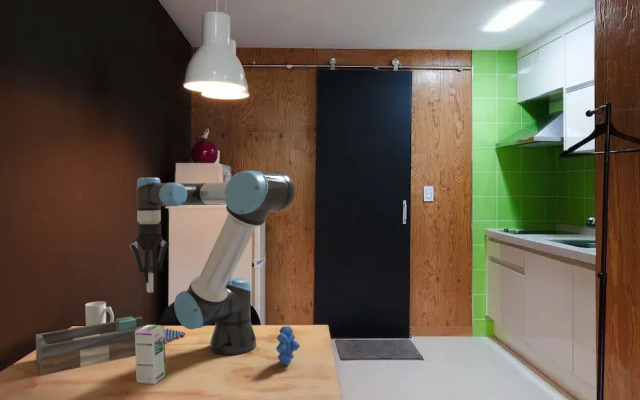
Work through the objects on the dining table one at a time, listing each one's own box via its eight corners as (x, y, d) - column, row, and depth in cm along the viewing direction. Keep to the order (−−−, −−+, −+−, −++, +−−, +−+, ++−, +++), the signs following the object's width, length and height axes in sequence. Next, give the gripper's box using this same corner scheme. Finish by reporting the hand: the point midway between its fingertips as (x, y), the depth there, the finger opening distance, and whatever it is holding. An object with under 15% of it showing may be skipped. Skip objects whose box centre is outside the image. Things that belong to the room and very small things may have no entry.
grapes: (294, 373, 131) (293, 331, 131) (271, 371, 133) (271, 330, 133) (305, 359, 143) (304, 320, 142) (284, 357, 144) (284, 319, 144)
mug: (81, 339, 164) (81, 305, 163) (92, 333, 170) (92, 301, 170) (108, 340, 163) (108, 306, 163) (118, 334, 170) (118, 301, 169)
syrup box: (155, 384, 125) (154, 331, 125) (135, 382, 126) (134, 330, 126) (166, 376, 130) (165, 325, 130) (147, 374, 132) (146, 324, 131)
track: (155, 350, 151) (154, 326, 151) (41, 375, 132) (41, 347, 132) (141, 339, 163) (141, 316, 163) (36, 359, 144) (35, 334, 144)
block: (136, 334, 152) (136, 319, 152) (120, 337, 149) (120, 322, 149) (132, 331, 156) (131, 316, 156) (116, 334, 153) (116, 319, 153)
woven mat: (142, 341, 163) (142, 335, 163) (167, 333, 172) (167, 327, 172) (162, 346, 157) (162, 340, 157) (186, 337, 166) (186, 332, 166)
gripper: (164, 221, 164) (165, 287, 164) (126, 223, 156) (127, 292, 157) (171, 222, 158) (172, 291, 158) (132, 224, 150) (133, 296, 151)
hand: (150, 291), depth 157 cm, fingers closed
